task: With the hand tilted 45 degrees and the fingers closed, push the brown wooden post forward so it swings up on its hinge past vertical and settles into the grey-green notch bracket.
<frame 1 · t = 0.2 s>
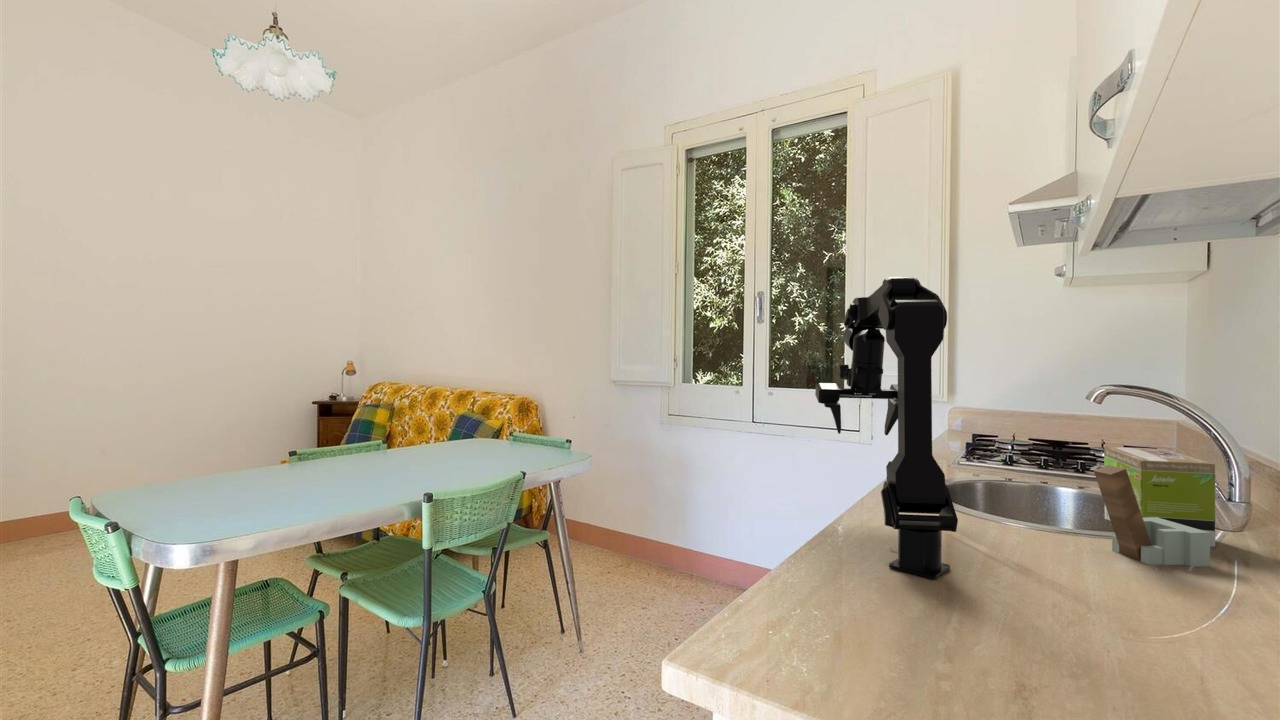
hand: (862, 433, 119), 15 cm above the counter, tool pointing down, fingers open, 9 cm apart
tea box: (1155, 539, 100), on the counter
bracket: (1139, 565, 87), on the counter
brown wooden post: (1124, 513, 86), point 8 cm above the counter, hinge at -20.0°
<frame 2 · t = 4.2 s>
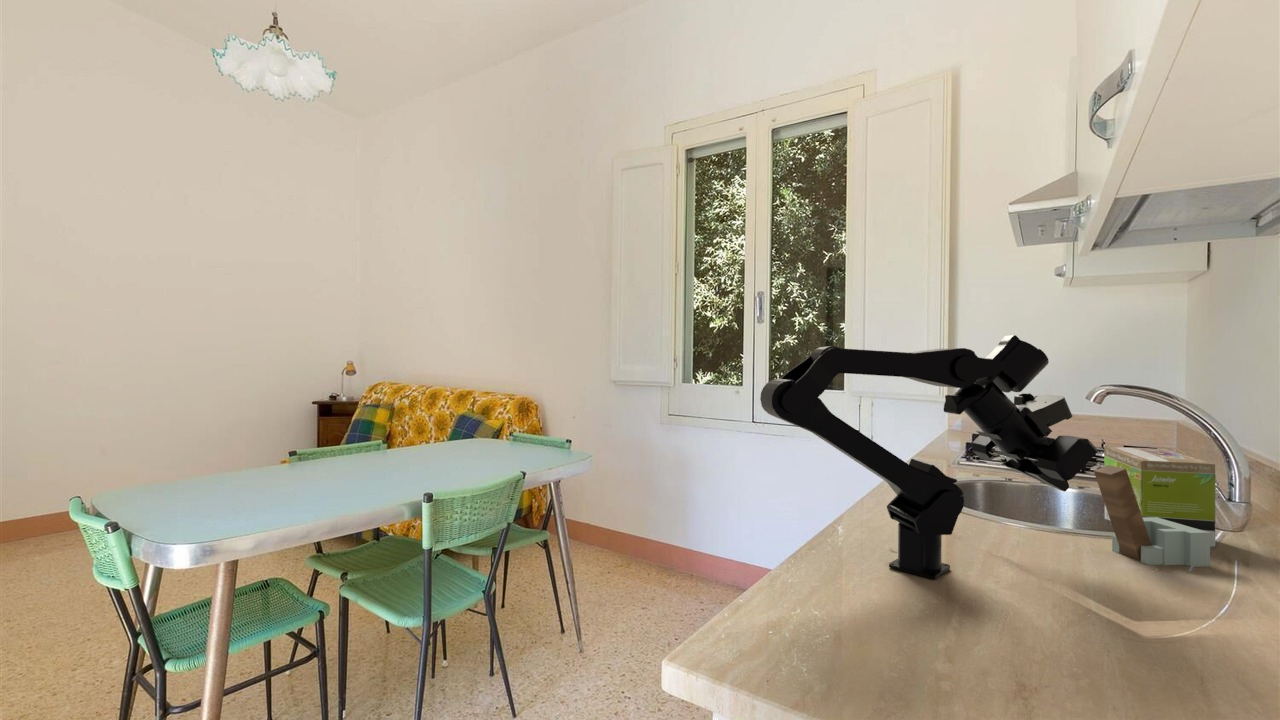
hand: (1065, 488, 86), 12 cm above the counter, tool tilted 45°, fingers closed
nothing on the counter moved.
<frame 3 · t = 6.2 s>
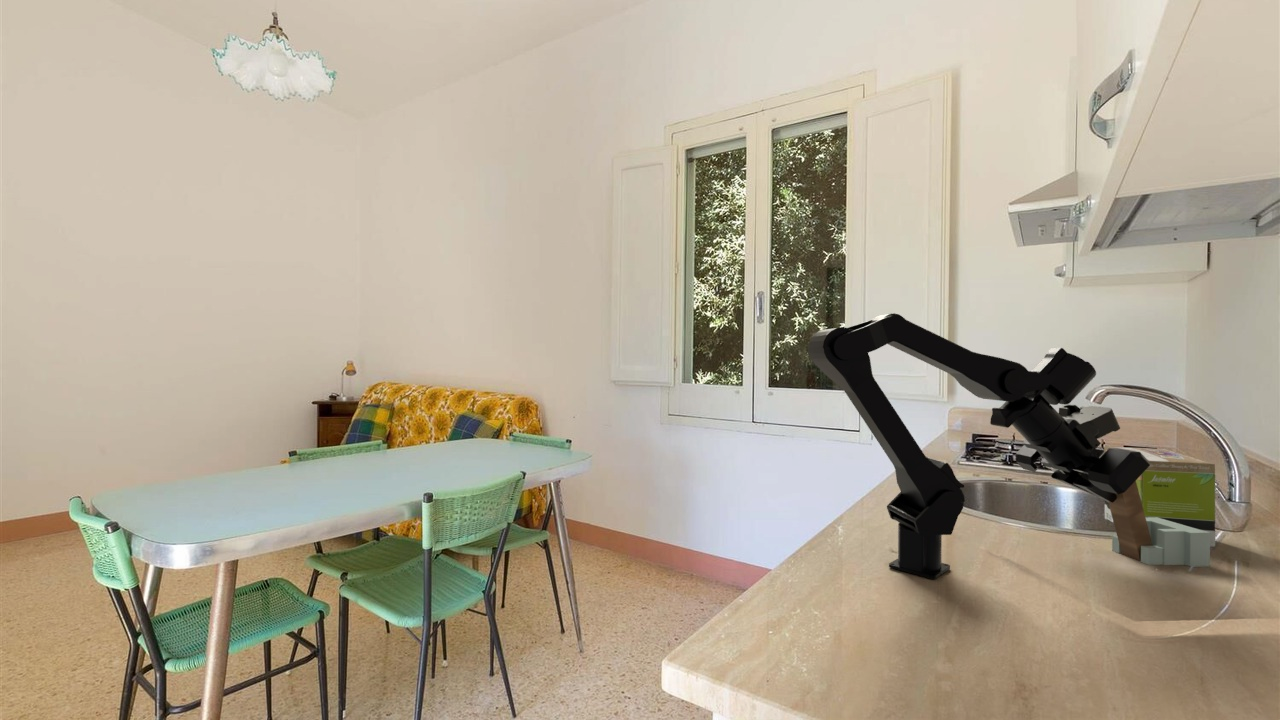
hand: (1112, 499, 86), 10 cm above the counter, tool tilted 45°, fingers closed, pressing on brown wooden post
brown wooden post: (1127, 512, 86), point 8 cm above the counter, hinge at -15.9°, touching gripper
everything else where it was.
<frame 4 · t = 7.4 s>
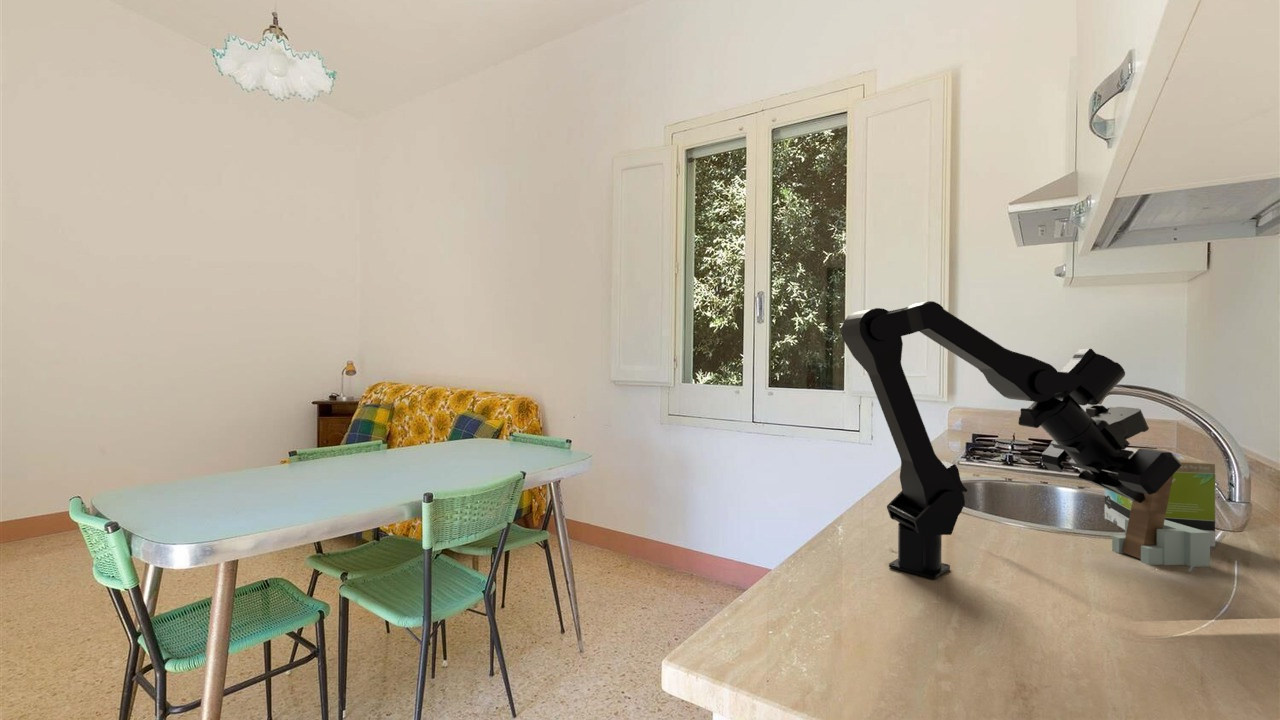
hand: (1140, 500, 87), 10 cm above the counter, tool tilted 45°, fingers closed, pressing on brown wooden post
brown wooden post: (1148, 511, 87), point 8 cm above the counter, hinge at 11.3°, touching gripper
everything else where it was.
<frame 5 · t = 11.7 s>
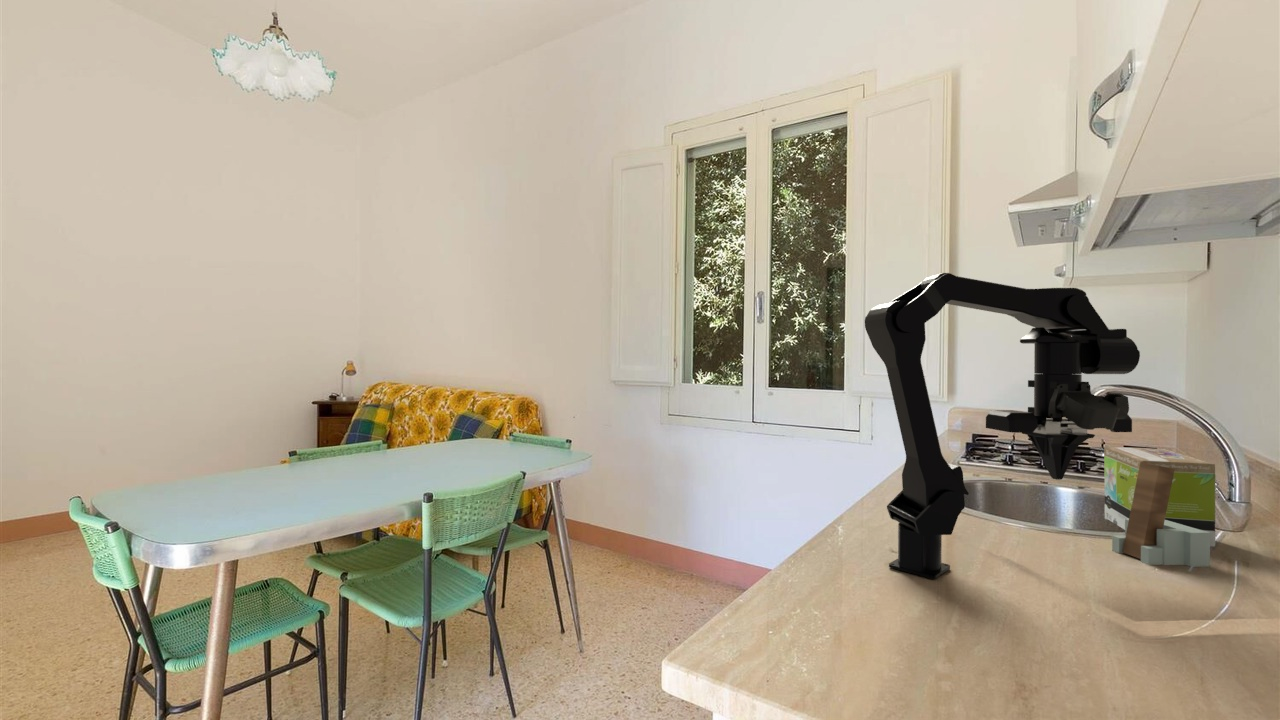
hand: (1056, 479, 86), 13 cm above the counter, tool pointing down, fingers closed
brown wooden post: (1148, 511, 87), point 8 cm above the counter, hinge at 11.4°
everything else where it was.
at the end: brown wooden post at +11° (first picture: -20°) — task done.
